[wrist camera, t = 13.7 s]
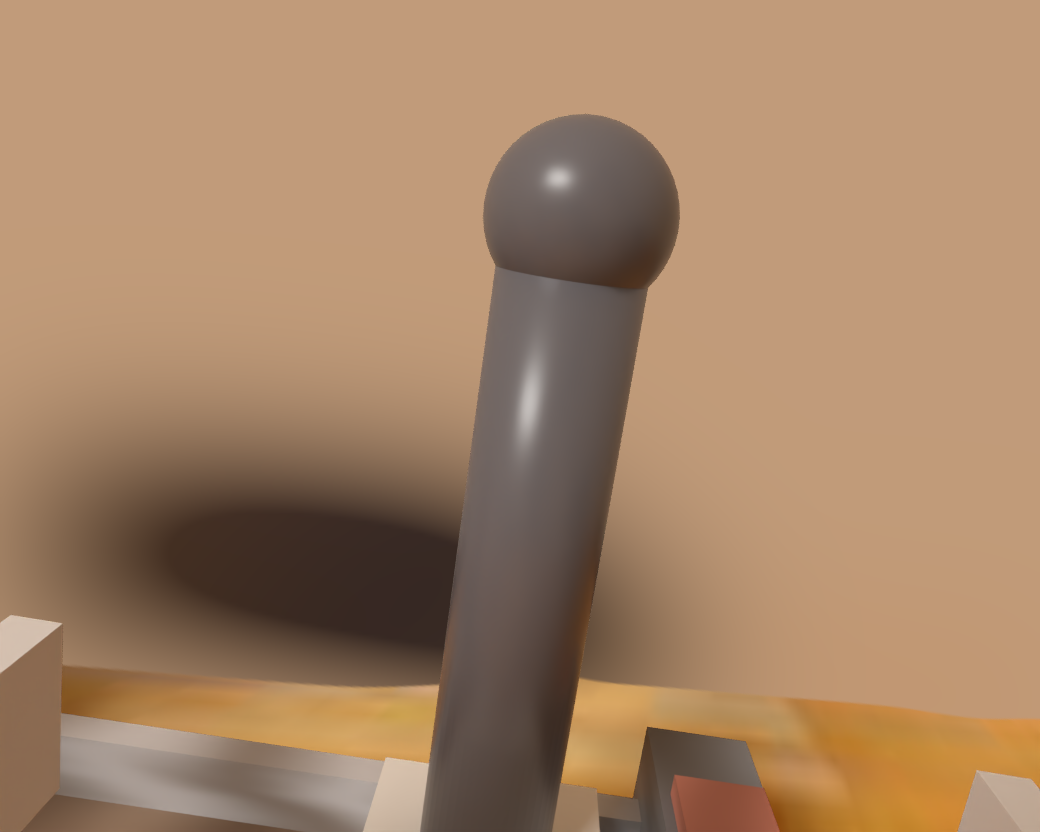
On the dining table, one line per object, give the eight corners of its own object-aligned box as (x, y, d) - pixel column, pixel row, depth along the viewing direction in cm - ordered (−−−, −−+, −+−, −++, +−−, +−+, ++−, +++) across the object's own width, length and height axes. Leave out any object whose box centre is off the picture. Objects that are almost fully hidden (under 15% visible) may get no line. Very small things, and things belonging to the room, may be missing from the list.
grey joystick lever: (580, 871, 25) (717, 148, 20) (589, 1075, 19) (784, 121, 14) (375, 841, 25) (463, 111, 20) (321, 1035, 19) (426, 69, 14)
